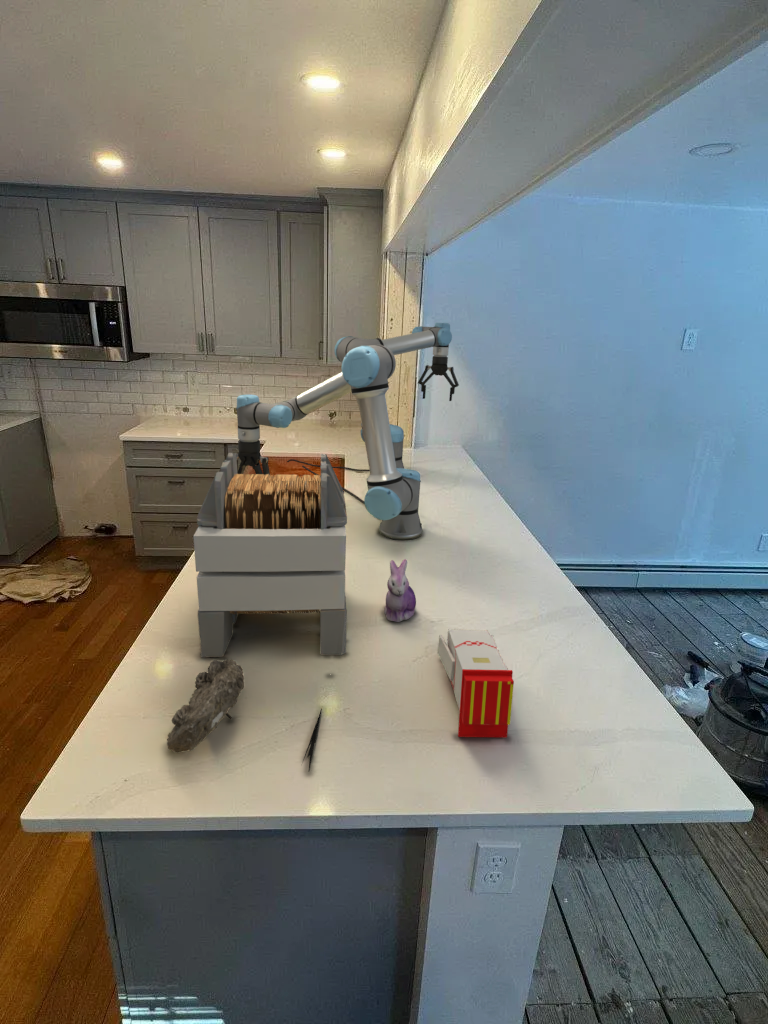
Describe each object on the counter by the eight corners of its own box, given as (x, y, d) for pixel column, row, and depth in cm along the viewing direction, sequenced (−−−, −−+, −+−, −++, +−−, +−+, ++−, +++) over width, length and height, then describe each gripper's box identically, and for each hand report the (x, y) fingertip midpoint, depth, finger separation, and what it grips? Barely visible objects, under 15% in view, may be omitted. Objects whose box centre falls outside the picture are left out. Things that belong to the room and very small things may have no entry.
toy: (488, 613, 130) (523, 677, 101) (484, 667, 133) (517, 744, 104) (435, 612, 130) (455, 676, 101) (432, 666, 133) (451, 743, 103)
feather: (331, 679, 122) (336, 673, 122) (307, 777, 96) (313, 769, 95) (324, 675, 122) (329, 669, 121) (298, 772, 95) (304, 764, 95)
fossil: (192, 660, 117) (244, 628, 112) (224, 691, 120) (276, 661, 115) (142, 746, 98) (202, 712, 93) (182, 779, 101) (242, 748, 96)
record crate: (222, 587, 156) (213, 443, 143) (341, 586, 160) (343, 445, 146) (198, 659, 125) (184, 483, 111) (346, 655, 129) (350, 484, 115)
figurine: (392, 627, 141) (395, 572, 136) (374, 608, 149) (376, 556, 144) (425, 619, 145) (429, 566, 140) (405, 601, 154) (408, 550, 149)
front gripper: (216, 438, 198) (220, 500, 205) (271, 445, 193) (272, 508, 200) (228, 434, 204) (230, 494, 212) (281, 440, 199) (281, 501, 207)
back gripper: (413, 354, 277) (411, 398, 284) (464, 358, 271) (460, 402, 278) (417, 353, 284) (414, 396, 291) (466, 357, 278) (462, 400, 285)
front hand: (251, 501), depth 206 cm, fingers closed on block, 8 cm apart
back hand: (437, 399), depth 285 cm, fingers open, 13 cm apart
